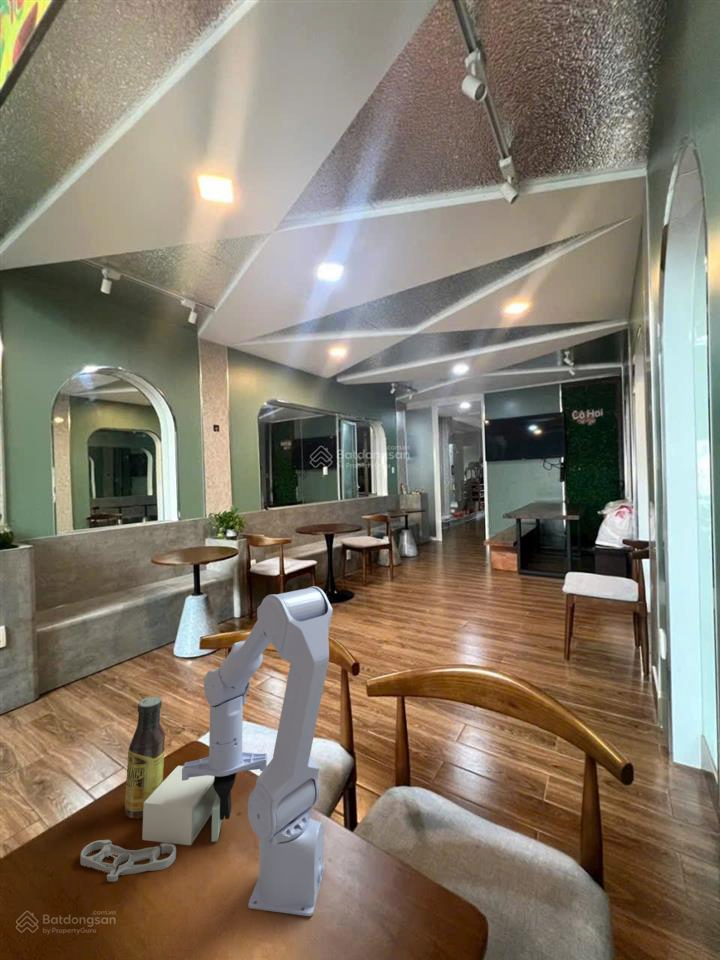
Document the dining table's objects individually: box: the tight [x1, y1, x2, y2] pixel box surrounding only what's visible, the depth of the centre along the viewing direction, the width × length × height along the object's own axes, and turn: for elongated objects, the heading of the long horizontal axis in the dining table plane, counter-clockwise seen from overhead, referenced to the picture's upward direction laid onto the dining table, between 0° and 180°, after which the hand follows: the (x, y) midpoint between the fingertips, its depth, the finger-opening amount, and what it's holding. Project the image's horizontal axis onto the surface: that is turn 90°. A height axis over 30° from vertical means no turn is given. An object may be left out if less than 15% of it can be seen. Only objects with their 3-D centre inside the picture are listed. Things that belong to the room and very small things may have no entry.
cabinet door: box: [210, 792, 223, 843], centre depth 71 cm, size 1×10×5 cm, turn 11°
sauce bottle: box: [124, 696, 166, 820], centre depth 75 cm, size 7×6×20 cm
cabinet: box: [141, 765, 216, 846], centre depth 71 cm, size 9×10×6 cm
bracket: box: [80, 839, 177, 883], centre depth 63 cm, size 8×2×15 cm
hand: (224, 815), depth 69 cm, fingers closed, pressing on cabinet door
